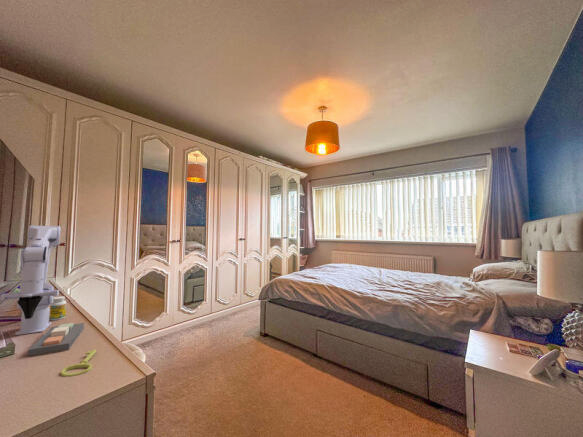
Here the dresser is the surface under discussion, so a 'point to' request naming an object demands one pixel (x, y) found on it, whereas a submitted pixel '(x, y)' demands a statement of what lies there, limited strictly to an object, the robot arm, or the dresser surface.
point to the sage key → (67, 325)
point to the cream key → (60, 331)
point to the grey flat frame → (62, 346)
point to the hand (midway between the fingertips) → (29, 317)
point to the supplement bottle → (58, 308)
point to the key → (80, 365)
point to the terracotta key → (53, 340)
